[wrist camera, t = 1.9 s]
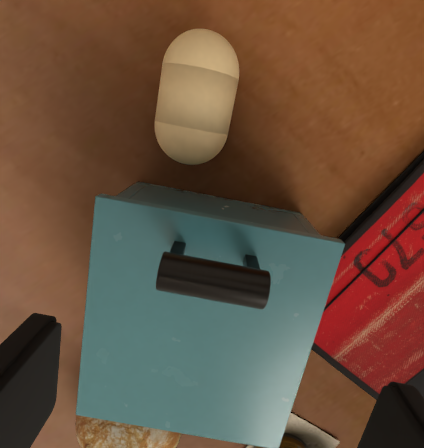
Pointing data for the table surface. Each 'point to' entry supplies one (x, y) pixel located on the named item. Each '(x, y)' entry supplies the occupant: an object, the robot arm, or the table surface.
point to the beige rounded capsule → (196, 96)
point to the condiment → (304, 435)
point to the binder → (380, 292)
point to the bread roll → (121, 435)
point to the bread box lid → (199, 320)
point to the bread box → (218, 206)
